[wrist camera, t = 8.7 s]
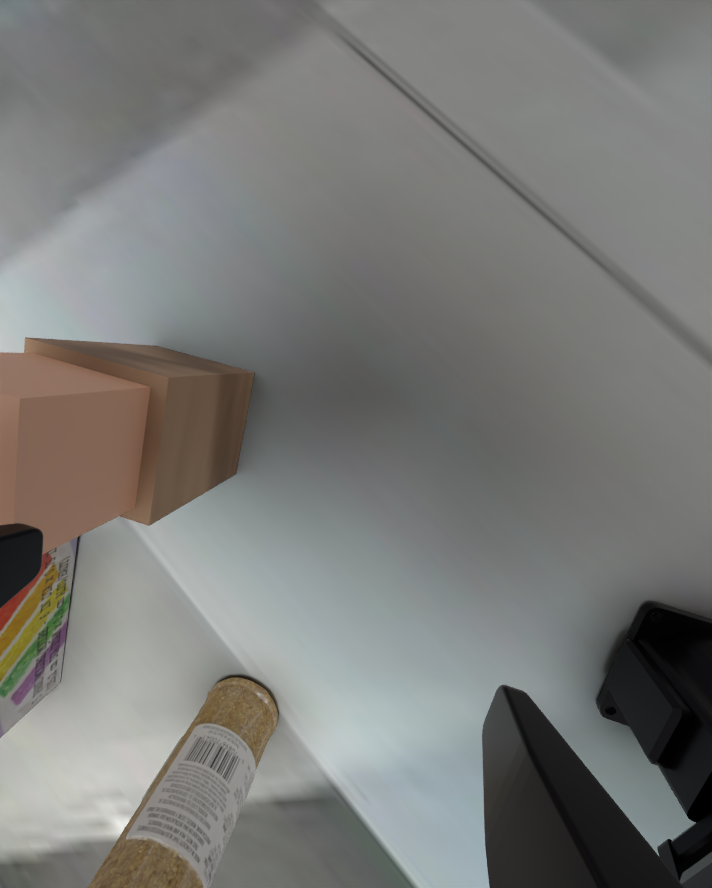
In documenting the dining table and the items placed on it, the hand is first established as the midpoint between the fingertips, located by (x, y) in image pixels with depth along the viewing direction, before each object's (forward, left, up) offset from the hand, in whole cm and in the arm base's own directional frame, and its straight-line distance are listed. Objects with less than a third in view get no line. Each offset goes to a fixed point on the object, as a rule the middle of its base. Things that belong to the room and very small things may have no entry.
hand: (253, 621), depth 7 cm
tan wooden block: (+9, 0, -13) cm, 16 cm away
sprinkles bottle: (+3, +17, -13) cm, 22 cm away
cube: (+9, 0, -6) cm, 11 cm away
